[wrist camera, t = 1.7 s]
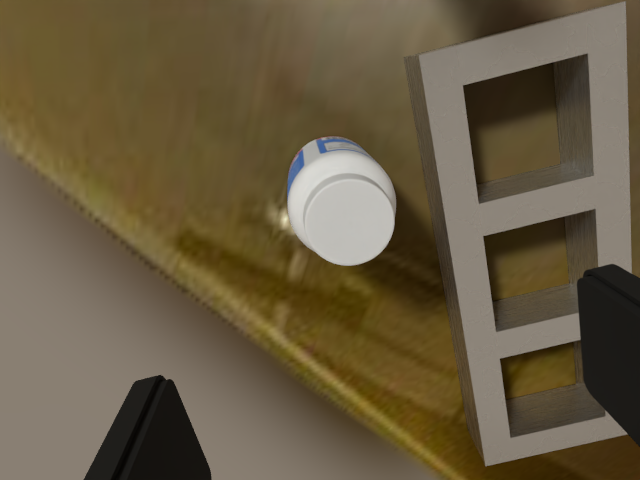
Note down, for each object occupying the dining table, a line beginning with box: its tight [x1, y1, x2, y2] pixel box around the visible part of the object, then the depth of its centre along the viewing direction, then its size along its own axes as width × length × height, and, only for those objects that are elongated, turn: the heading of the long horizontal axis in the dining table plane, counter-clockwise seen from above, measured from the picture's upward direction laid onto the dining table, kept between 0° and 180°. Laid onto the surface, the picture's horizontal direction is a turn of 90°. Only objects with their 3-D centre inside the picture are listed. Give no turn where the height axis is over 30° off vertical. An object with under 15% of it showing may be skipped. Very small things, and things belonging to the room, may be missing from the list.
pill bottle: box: [288, 136, 396, 266], centre depth 25 cm, size 6×5×10 cm
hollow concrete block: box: [404, 1, 632, 466], centre depth 30 cm, size 28×11×4 cm, turn 14°
